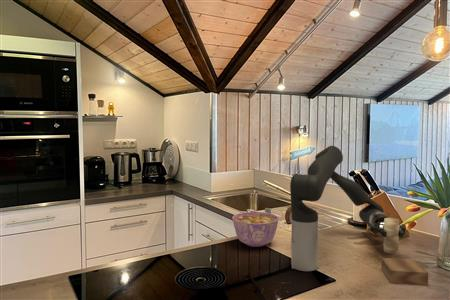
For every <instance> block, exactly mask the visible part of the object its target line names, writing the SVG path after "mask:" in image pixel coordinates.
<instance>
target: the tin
mask: <svg viewBox="0 0 450 300" xmlns="http://www.w3.org/2000/svg"><path fill="white" fill-rule="evenodd" d="M284 215H285V216H284V221H285V222H286V223H288V224H292V214H291V206H289V207H287V209H286V210H285V214H284Z"/></svg>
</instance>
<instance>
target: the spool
mask: <svg viewBox="0 0 450 300" xmlns="http://www.w3.org/2000/svg"><path fill="white" fill-rule="evenodd" d="M399 226H400V219H398V218H395V217H389V218H384V230H385V231H386V237H384V236H383V252H384V253H387V254H391V255H394V254H398V253H399V245H400V244H399V242H400V241H399V240H400V237H399Z"/></svg>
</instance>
